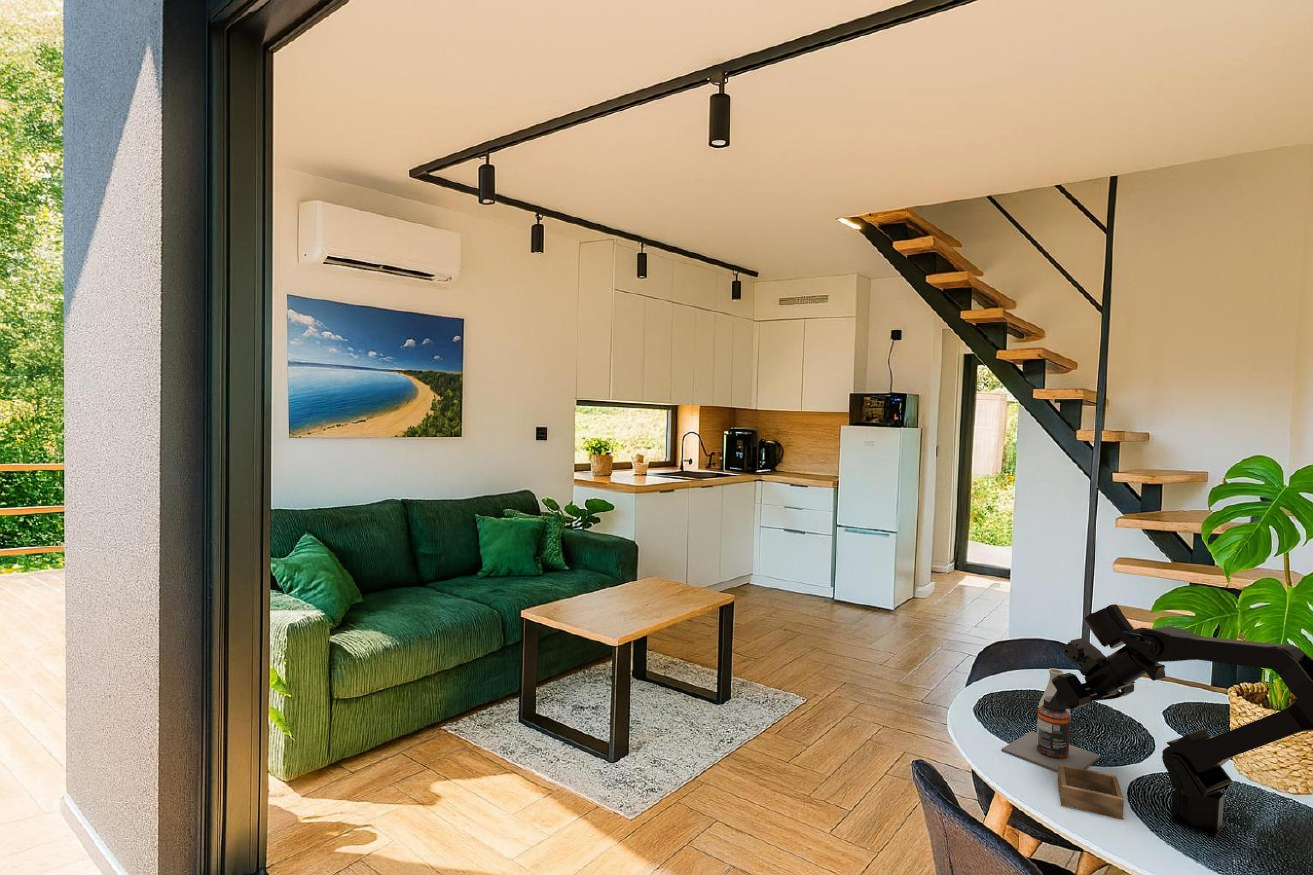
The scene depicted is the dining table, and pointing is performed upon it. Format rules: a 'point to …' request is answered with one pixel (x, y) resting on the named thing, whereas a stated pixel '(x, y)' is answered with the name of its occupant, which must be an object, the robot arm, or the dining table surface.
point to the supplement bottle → (1053, 730)
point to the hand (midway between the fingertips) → (1063, 703)
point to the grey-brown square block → (1029, 752)
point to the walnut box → (1090, 799)
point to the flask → (1051, 686)
